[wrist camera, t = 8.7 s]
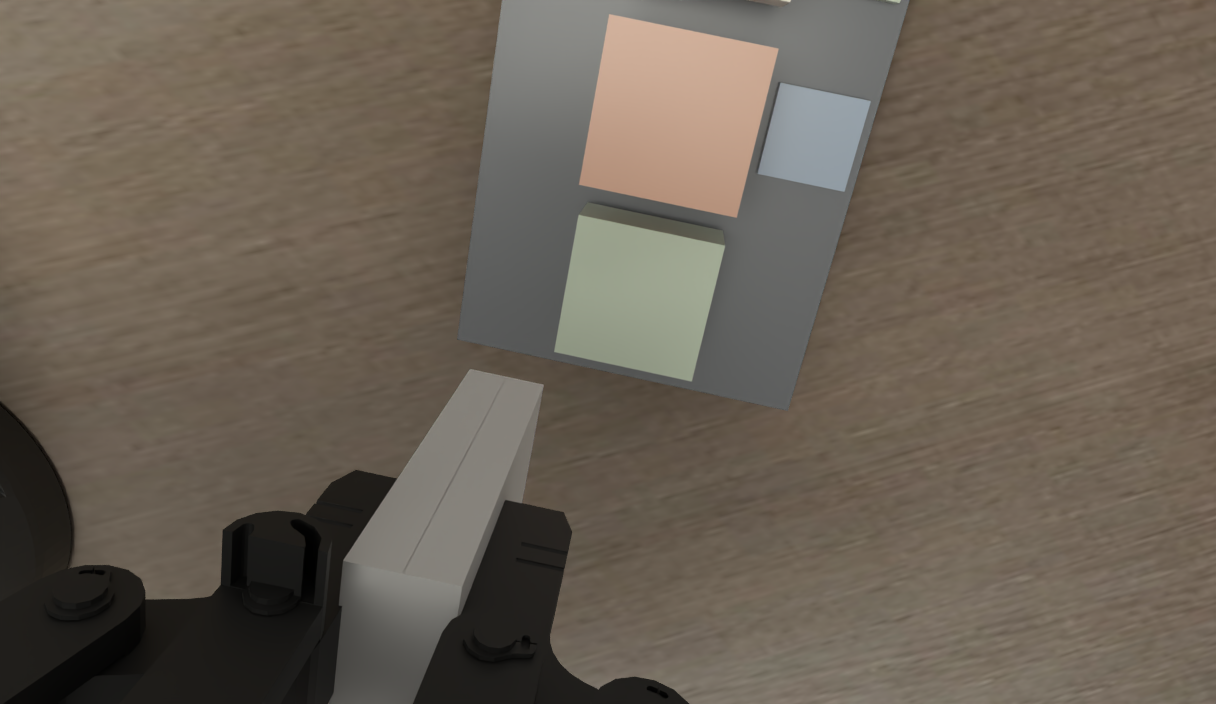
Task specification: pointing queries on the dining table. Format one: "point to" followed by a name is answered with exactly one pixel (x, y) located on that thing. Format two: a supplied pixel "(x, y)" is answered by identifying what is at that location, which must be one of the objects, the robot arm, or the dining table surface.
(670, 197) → the key terracotta
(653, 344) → the key sage
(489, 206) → the keypad
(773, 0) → the key cream
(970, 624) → the dining table surface
